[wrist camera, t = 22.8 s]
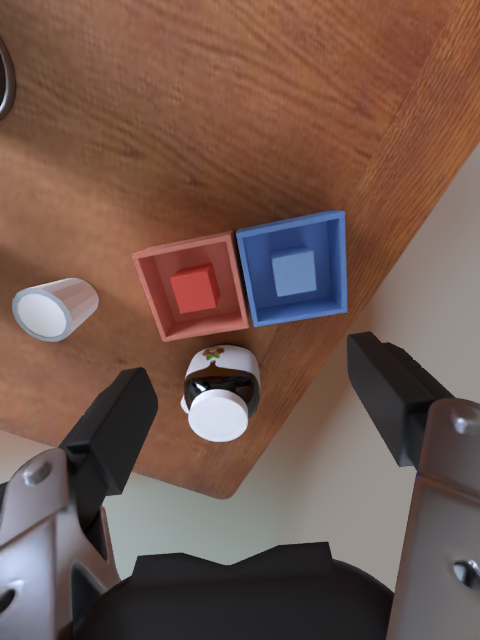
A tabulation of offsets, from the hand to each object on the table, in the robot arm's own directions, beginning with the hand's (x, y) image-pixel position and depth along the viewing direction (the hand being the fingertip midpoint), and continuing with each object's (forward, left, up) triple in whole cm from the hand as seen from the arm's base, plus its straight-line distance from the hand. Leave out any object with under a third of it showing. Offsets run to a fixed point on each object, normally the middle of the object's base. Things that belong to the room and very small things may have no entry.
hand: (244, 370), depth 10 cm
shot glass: (+1, -24, -25) cm, 35 cm away
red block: (+2, -7, -24) cm, 25 cm away
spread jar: (+17, -7, -25) cm, 31 cm away
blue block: (+2, +5, -24) cm, 25 cm away
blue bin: (+2, +5, -25) cm, 25 cm away
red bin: (+2, -7, -25) cm, 26 cm away
